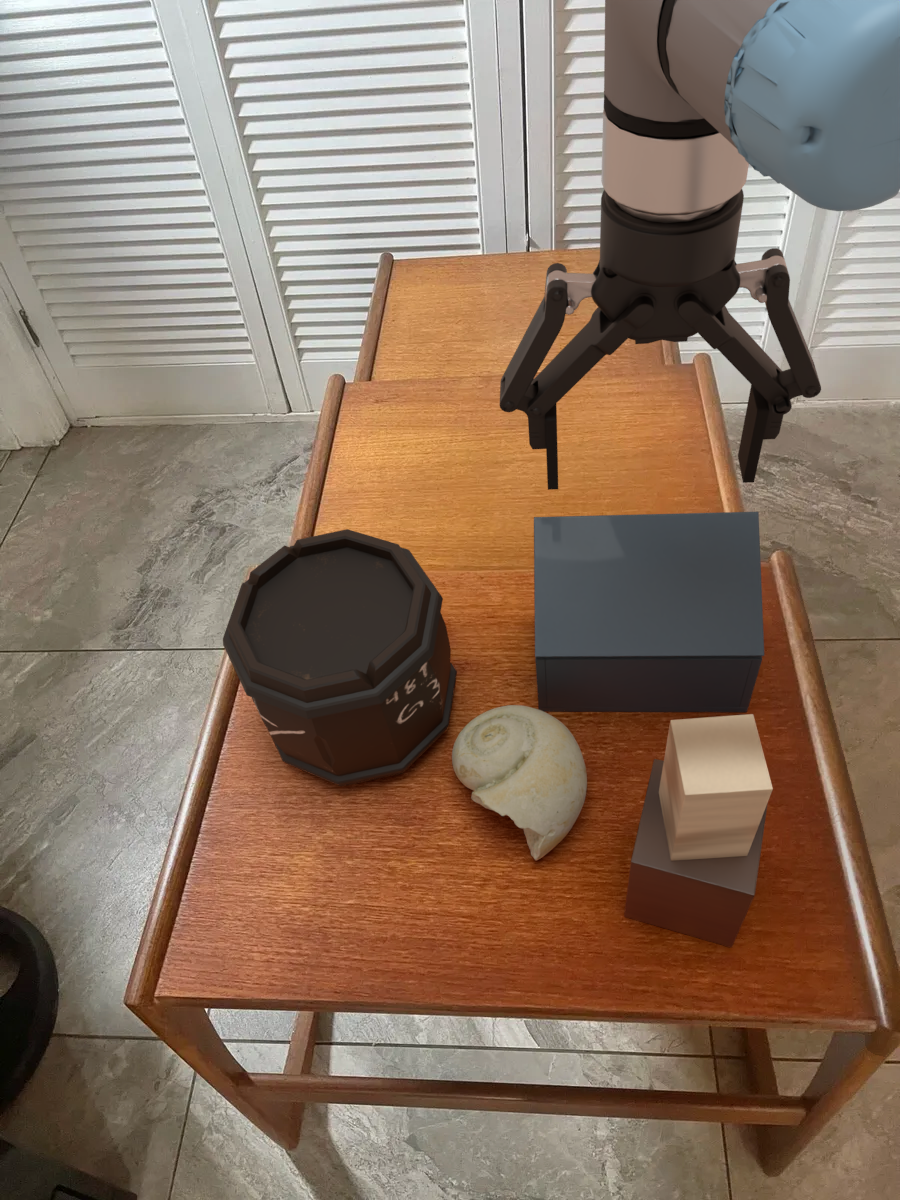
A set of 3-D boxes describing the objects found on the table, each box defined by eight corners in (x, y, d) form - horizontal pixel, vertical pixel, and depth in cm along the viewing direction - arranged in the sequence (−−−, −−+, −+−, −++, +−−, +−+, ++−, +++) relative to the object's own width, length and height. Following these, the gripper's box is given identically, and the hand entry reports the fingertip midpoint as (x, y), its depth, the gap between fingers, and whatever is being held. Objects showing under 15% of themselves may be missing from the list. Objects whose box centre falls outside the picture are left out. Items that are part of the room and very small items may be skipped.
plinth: (731, 948, 67) (754, 895, 58) (623, 916, 69) (630, 862, 60) (746, 848, 71) (770, 785, 62) (645, 821, 73) (654, 758, 65)
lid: (534, 519, 76) (533, 516, 75) (756, 513, 73) (758, 511, 73) (535, 657, 74) (534, 656, 73) (762, 656, 72) (764, 655, 71)
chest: (539, 614, 87) (536, 559, 81) (732, 612, 85) (745, 555, 78) (538, 711, 81) (535, 660, 74) (747, 712, 78) (762, 659, 72)
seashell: (426, 719, 73) (535, 661, 74) (445, 753, 80) (545, 699, 80) (499, 861, 66) (618, 795, 67) (513, 884, 73) (621, 824, 74)
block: (747, 856, 60) (773, 789, 52) (670, 861, 60) (684, 795, 52) (731, 787, 63) (753, 713, 55) (658, 791, 63) (670, 719, 55)
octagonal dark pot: (289, 622, 90) (244, 515, 78) (468, 631, 87) (450, 520, 75) (240, 788, 79) (178, 694, 67) (441, 804, 76) (415, 709, 64)
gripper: (901, 133, 49) (819, 429, 66) (445, 169, 52) (477, 444, 69) (938, 206, 44) (840, 504, 61) (436, 241, 48) (473, 516, 64)
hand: (648, 473), depth 65 cm, fingers open, 13 cm apart
